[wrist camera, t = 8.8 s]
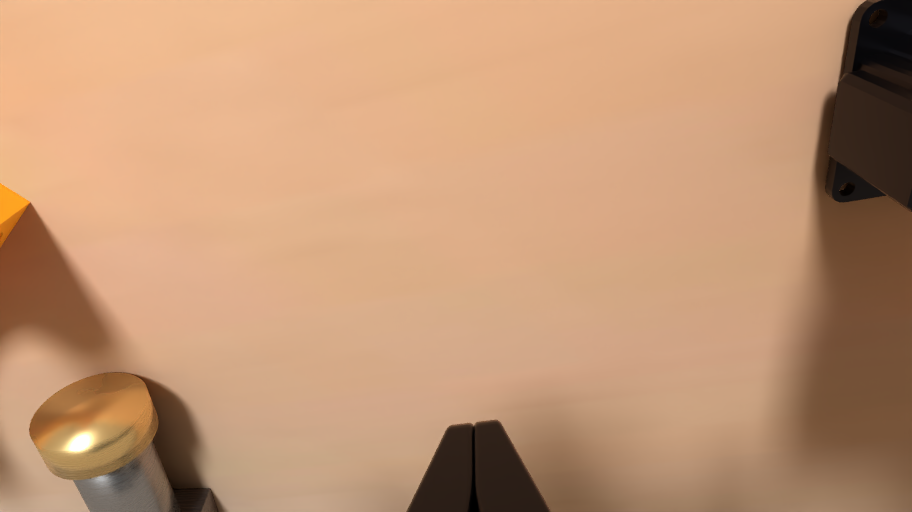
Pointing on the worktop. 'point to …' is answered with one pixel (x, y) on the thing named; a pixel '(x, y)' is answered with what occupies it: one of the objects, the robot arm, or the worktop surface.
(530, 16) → the worktop surface
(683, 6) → the worktop surface
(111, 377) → the shaft
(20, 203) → the pipe clamp
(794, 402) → the worktop surface
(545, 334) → the worktop surface
